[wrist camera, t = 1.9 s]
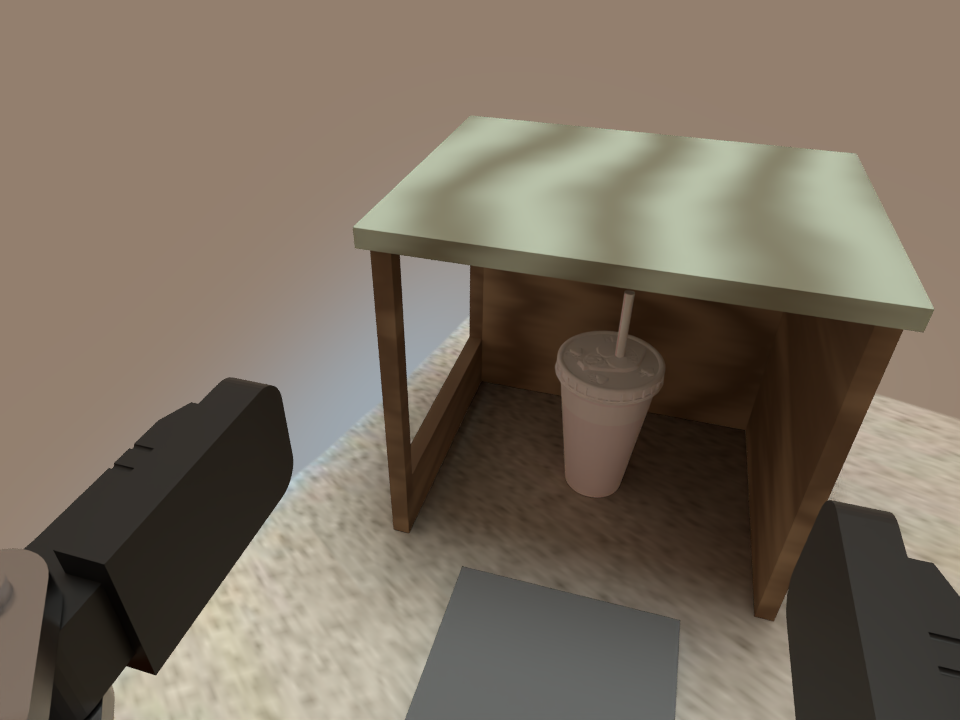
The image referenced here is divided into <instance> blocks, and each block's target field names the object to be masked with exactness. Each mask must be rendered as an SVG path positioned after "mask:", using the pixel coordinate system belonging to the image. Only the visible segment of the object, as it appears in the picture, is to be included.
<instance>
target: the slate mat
mask: <svg viewBox="0 0 960 720" xmlns="http://www.w3.org/2000/svg"><path fill="white" fill-rule="evenodd" d="M679 633H680V620H677V619H673V618H669V617H665V616H661V615H657V614H653V613H649V612H645V611H641V610H637V609H633V608H629V607H625V606H621V605H617V604H613V603H609V602H604V601H600V600H596V599H592V598H588V597H584V596H580V595H576V594H572V593H568V592H564V591H560V590H556V589H552V588H548V587H544V586H540V585H536V584H532V583H528V582H524V581H520V580H516V579H512V578H508V577H504V576H500V575H496V574H492V573H488V572H484V571H480V570H475V569H471V568H467V567H463V566H462V569H461V571H460V574H459V577H458V579H457V582H456V585H455V587H454V590H453V593H452V595H451V598H450V601H449V603H448V606H447V609H446V611H445V614H444V617H443V619H442V622H441V625H440V627H439V630H438V633H437V635H436V638H435V641H434V643H433V646H432V649H431V651H430V654H429V657H428V659H427V662H426V665H425V667H424V670H423V673H422V675H421V678H420V681H419V683H418V686H417V689H416V691H415V694H414V697H413V699H412V702H411V705H410V707H409V710H408V713H407V715H406V718H405V720H675V708H676V689H677V670H678V652H679Z"/></svg>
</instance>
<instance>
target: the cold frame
mask: <svg viewBox="0 0 960 720" xmlns="http://www.w3.org/2000/svg"><path fill="white" fill-rule="evenodd" d="M353 234H354V244H355V248H357V249H364V250H370V252H371V253H370V254H371V265H372V277H373V288H374V301H375V313H376V325H377V337H378V349H379V360H380V372H381V384H382V396H383V408H384V420H385V432H386V443H387V455H388V467H389V479H390V491H391V503H392V515H393V527H394V530H398V531H403V532H407V533H409V532H410V530H411V528H412V526H413V524H414V522H415V520H416V518H417V515H418V513H419V511H420V509H421V507H422V505H423V503H424V501H425V499H426V497H427V494H428V492H429V490H430V488H431V486H432V484H433V482H434V480H435V478H436V475H437V473H438V471H439V469H440V467H441V465H442V463H443V461H444V459H445V457H446V454H447V452H448V450H449V448H450V446H451V444H452V442H453V440H454V438H455V435H456V433H457V431H458V429H459V427H460V425H461V423H462V421H463V419H464V417H465V414H466V412H467V410H468V408H469V406H470V404H471V402H472V400H473V398H474V395H475V393H476V391H477V389H478V387H479V385H480V383H481V381H484V382H489V383H494V384H500V385H505V386H510V387H516V388H521V389H527V390H532V391H537V392H543V393H548V394H554V395H559V396H561V382H560V381H559V379H558V377H557V375H556V370H555V364H556V361H557V355H558V350H559V348H560V347H561V345H562V344H563V343H564V342H565V341H566V340H568V339H569V338H571V337H573V336H576V335H578V334H581V333H585V332H591V331H614V332H618V331H619V325H620V319H621V312H622V306H623V300H624V293H625V291H626V290H631V291H634V292H635V295H634V301H633V307H632V313H631V319H630V325H629V331H628V335H632V336H635V337H637V338H639V339H642V340H643V341H645V342H647V343H649V344H650V345H651V346H653V347H654V348H655V349H656V350H657V351H658V352H659V353H660V354H661V356H662V357H663V359H664V362H665V373H664V382H663V386H662V388H661V389H660V391H659V392H658V393H657V394H656V395H655V396H653V398H652V401H651V404H650V407H649V409H648V411H647V412H650V413H656V414H661V415H667V416H672V417H677V418H683V419H688V420H693V421H699V422H704V423H710V424H715V425H720V426H726V427H731V428H737V429H742V430H746V450H747V471H748V492H749V513H750V534H751V555H752V576H753V597H754V616H755V617H759V618H763V619H767V620H771V621H774V620H775V617H776V615H777V613H778V611H779V608H780V606H781V604H782V602H783V599H784V597H785V595H786V593H787V590H788V588H789V583H790V579H791V576H792V573H793V570H794V568H795V566H796V563H797V561H798V559H799V557H800V554H801V552H802V550H803V547H804V545H805V543H806V541H807V538H808V536H809V534H810V532H811V529H812V527H813V525H814V523H815V520H816V518H817V516H818V514H819V511H820V509H821V507H822V506H823V504H824V503H825V502H826V501H827V500H828V498H829V496H830V494H831V491H832V489H833V487H834V485H835V482H836V480H837V478H838V476H839V473H840V471H841V469H842V467H843V464H844V462H845V460H846V458H847V455H848V453H849V451H850V449H851V446H852V444H853V442H854V440H855V437H856V435H857V433H858V431H859V428H860V426H861V424H862V422H863V419H864V417H865V415H866V413H867V410H868V408H869V406H870V404H871V401H872V399H873V397H874V395H875V392H876V390H877V388H878V385H879V383H880V381H881V379H882V377H883V374H884V372H885V369H886V368H887V365H888V363H889V361H890V359H891V356H892V354H893V352H894V350H895V347H896V345H897V342H898V341H899V338H900V336H901V334H902V332H903V330H911V331H917V332H924V331H925V329H926V326H927V324H928V322H929V320H930V318H931V316H932V314H933V311H934V308H933V306H932V304H931V302H930V300H929V298H928V296H927V294H926V292H925V290H924V288H923V286H922V284H921V282H920V280H919V278H918V276H917V274H916V272H915V270H914V268H913V266H912V264H911V262H910V260H909V258H908V256H907V254H906V252H905V250H904V248H903V246H902V244H901V242H900V240H899V238H898V236H897V234H896V232H895V230H894V228H893V226H892V224H891V222H890V220H889V218H888V216H887V214H886V212H885V210H884V208H883V206H882V204H881V202H880V200H879V198H878V196H877V194H876V192H875V190H874V188H873V186H872V184H871V182H870V180H869V178H868V176H867V174H866V172H865V170H864V168H863V166H862V164H861V162H860V160H859V158H858V156H857V154H853V153H843V152H832V151H823V150H813V149H802V148H792V147H782V146H772V145H761V144H751V143H742V142H732V141H722V140H711V139H702V138H692V137H681V136H671V135H661V134H651V133H641V132H631V131H621V130H611V129H600V128H591V127H580V126H570V125H560V124H549V123H539V122H530V121H519V120H510V119H500V118H490V117H489V118H488V117H479V116H470V117H469V118H468V119H467V120H466V121H465V122H463V124H461V125H460V126H459V127H458V128H457V129H456V130H455V131H454V132H453V133H452V134H451V135H450V136H449V137H448V138H447V139H446V140H445V141H443V142H442V143H441V144H440V145H439V146H438V147H437V148H436V149H435V150H434V151H433V152H432V153H431V154H430V155H429V156H428V157H427V158H425V159H424V161H422V162H421V163H420V164H419V165H418V166H417V167H416V168H415V169H414V170H413V171H412V172H411V173H410V174H409V175H407V176H406V177H405V178H404V179H403V180H402V181H401V182H400V183H399V184H398V185H397V186H396V187H395V188H394V189H393V190H392V191H391V192H390V193H389V194H388V195H386V196H385V197H384V198H383V199H382V200H381V201H380V202H379V203H378V204H377V205H376V206H375V207H374V208H373V209H372V210H371V211H369V213H367V214H366V215H365V216H364V217H363V218H362V219H361V220H360V221H359V222H358V223H357V224H356V225H355V226H354V227H353ZM400 255H404V256H411V257H418V258H425V259H431V260H438V261H445V262H452V263H458V264H465V265H470V337H469V339H468V341H467V342H466V344H465V346H464V348H463V350H462V352H461V353H460V355H459V357H458V359H457V361H456V363H455V364H454V366H453V368H452V370H451V372H450V374H449V375H448V377H447V379H446V381H445V383H444V384H443V386H442V388H441V390H440V392H439V394H438V395H437V397H436V399H435V401H434V403H433V405H432V406H431V408H430V410H429V412H428V414H427V416H426V417H425V419H424V421H423V423H422V425H421V427H420V428H419V430H418V432H417V434H416V436H415V438H414V439H413V441H412V443H411V444H410V426H409V409H408V391H407V375H406V356H405V339H404V322H403V304H402V286H401V269H400Z"/></svg>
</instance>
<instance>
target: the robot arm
mask: <svg viewBox="0 0 960 720" xmlns="http://www.w3.org/2000/svg"><path fill="white" fill-rule="evenodd" d="M292 470H293V454H292V449H291V444H290V439H289V433H288V428H287V423H286V418H285V412H284V407H283V402H282V397H281V394H280V391H279V390H278V389H277V388H276V387H275V386H272V385H267V384H261V383H257V382H252V381H247V380H242V379H237V378H226V379H224V380H222V381H221V382H220V383H219V384H218V385H217V386H216V387H215V388H214V389H213V390H212V391H211V392H210V393H209V394H208V395H207V396H206V397H205V398H204V399H203V400H202V401H201V402H200V403H199V404H196V403H192V402H191V403H189V404H187V405H186V406H184V407H182V408H180V409H178V410H176V411H175V412H173V413H171V414H169V415H167V416H166V417H164V418H162V419H160V420H158V422H156V423H155V424H154V425H153V426H152V427H151V428H150V429H149V430H148V431H147V432H146V433H145V434H144V435H143V436H142V437H141V438H140V439H139V440H138V441H137V442H136V443H135V444H134V448H133V449H128V450H127V451H126V452H125V453H124V454H123V455H122V456H121V457H120V458H119V459H118V460H117V461H116V462H115V463H114V467H113V468H112V469H110V468H109V469H107V470H106V471H105V472H104V473H103V474H102V475H101V476H100V477H99V478H98V479H97V480H96V481H95V482H94V483H93V484H92V485H91V486H90V487H89V488H88V489H87V490H86V491H85V492H84V493H83V494H82V495H80V496H79V497H78V498H77V499H76V500H75V501H74V502H73V503H72V504H71V505H70V506H69V507H68V508H67V509H66V510H65V511H64V512H63V513H62V514H61V515H60V516H59V517H58V518H57V519H56V520H54V521H53V522H52V523H51V524H50V525H49V526H48V527H47V528H46V529H45V530H44V531H43V532H42V533H41V534H40V535H39V536H38V537H37V538H36V539H35V540H34V541H33V542H31V543H30V544H29V545H28V546H27V547H26V548H25V549H2V550H0V720H114V702H115V697H114V690H113V687H112V684H113V683H114V681H115V680H116V679H117V677H118V676H119V675H120V674H121V672H122V671H123V670H124V668H125V667H126V666H128V667H131V668H134V669H137V670H140V671H144V672H147V673H150V674H153V675H157V673H158V672H159V670H160V669H161V668H162V666H163V665H164V663H165V662H166V660H167V659H168V658H169V656H170V655H171V653H172V652H173V651H174V649H175V648H176V646H177V645H178V644H179V642H180V641H181V639H182V638H183V637H184V635H185V634H186V632H187V631H188V629H189V628H190V627H191V625H192V624H193V622H194V621H195V620H196V618H197V617H198V615H199V614H200V613H201V611H202V610H203V608H204V607H205V605H206V604H207V603H208V601H209V600H210V598H211V597H212V596H213V594H214V593H215V591H216V590H217V589H218V587H219V586H220V584H221V583H222V581H223V580H224V579H225V577H226V576H227V574H228V573H229V572H230V570H231V569H232V567H233V566H234V565H235V563H236V562H237V560H238V559H239V558H240V556H241V555H242V553H243V552H244V550H245V549H246V548H247V546H248V545H249V543H250V542H251V541H252V539H253V538H254V536H255V535H256V534H257V532H258V531H259V529H260V528H261V526H262V525H263V524H264V522H265V521H266V519H267V518H268V517H269V515H270V514H271V512H272V511H273V510H274V508H275V507H276V505H277V504H278V503H279V501H280V500H281V498H282V497H283V495H284V494H285V492H286V490H287V488H288V485H289V482H290V479H291V476H292ZM786 618H787V630H788V640H789V651H790V662H791V673H792V684H793V695H794V705H795V716H796V720H960V596H959V595H958V594H957V593H956V591H955V590H954V589H953V588H952V586H951V585H950V584H949V582H948V581H947V580H946V579H945V577H944V576H943V575H942V573H941V572H940V571H939V570H938V568H937V567H936V566H935V565H934V563H930V562H925V561H920V560H916V559H911V558H908V557H907V554H906V550H905V546H904V543H903V539H902V536H901V532H900V529H899V525H898V522H897V520H896V518H895V516H894V515H893V514H892V513H890V512H886V511H881V510H876V509H871V508H866V507H862V506H857V505H852V504H847V503H842V502H837V501H832V500H828V501H826V502H825V503H824V504H823V506H822V507H821V509H820V511H819V514H818V516H817V518H816V520H815V523H814V525H813V527H812V529H811V532H810V534H809V536H808V538H807V541H806V543H805V545H804V547H803V550H802V552H801V554H800V557H799V559H798V561H797V563H796V566H795V568H794V570H793V573H792V576H791V579H790V583H789V588H788V595H787V606H786Z"/></svg>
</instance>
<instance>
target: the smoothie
mask: <svg viewBox="0 0 960 720" xmlns="http://www.w3.org/2000/svg"><path fill="white" fill-rule="evenodd" d="M634 295H635V292H634V291H631V290H626V291H625V293H624V300H623V306H622V312H621V319H620V325H619V331H618V332H614V331H591V332H585V333H581V334H578V335H576V336H573V337H571V338H569V339H568V340H566V341H565V342H564V343H563V344H562V345H561V347H560V348H559V350H558V355H557V361H556V364H555V370H556V375H557V377H558V379H559V381H560V382H561V397H562V418H563V441H564V463H565V479H566V481H567V483H568V485H569V486H570V487H571V488H572V489H573V490H575V491H576V492H578V493H579V494H582V495H584V496H588V497H595V498H599V497H606V496H609V495H611V494H613V493H614V492H615V491H617V489H618V488H619V486H620V483H621V481H622V478H623V475H624V473H625V470H626V467H627V465H628V462H629V459H630V457H631V454H632V451H633V449H634V446H635V443H636V441H637V438H638V435H639V433H640V430H641V427H642V425H643V422H644V419H645V417H646V414H647V411H648V409H649V407H650V404H651V401H652V398H653V396H655V395H656V394H657V393H658V392H659V391H660V389H661V388H662V386H663V382H664V373H665V362H664V359H663V357H662V356H661V354H660V353H659V352H658V351H657V350H656V349H655V348H654V347H653V346H651V345H650V344H649V343H647V342H645V341H643V340H642V339H639V338H637V337H635V336H632V335H628V331H629V325H630V319H631V313H632V307H633V301H634Z"/></svg>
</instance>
